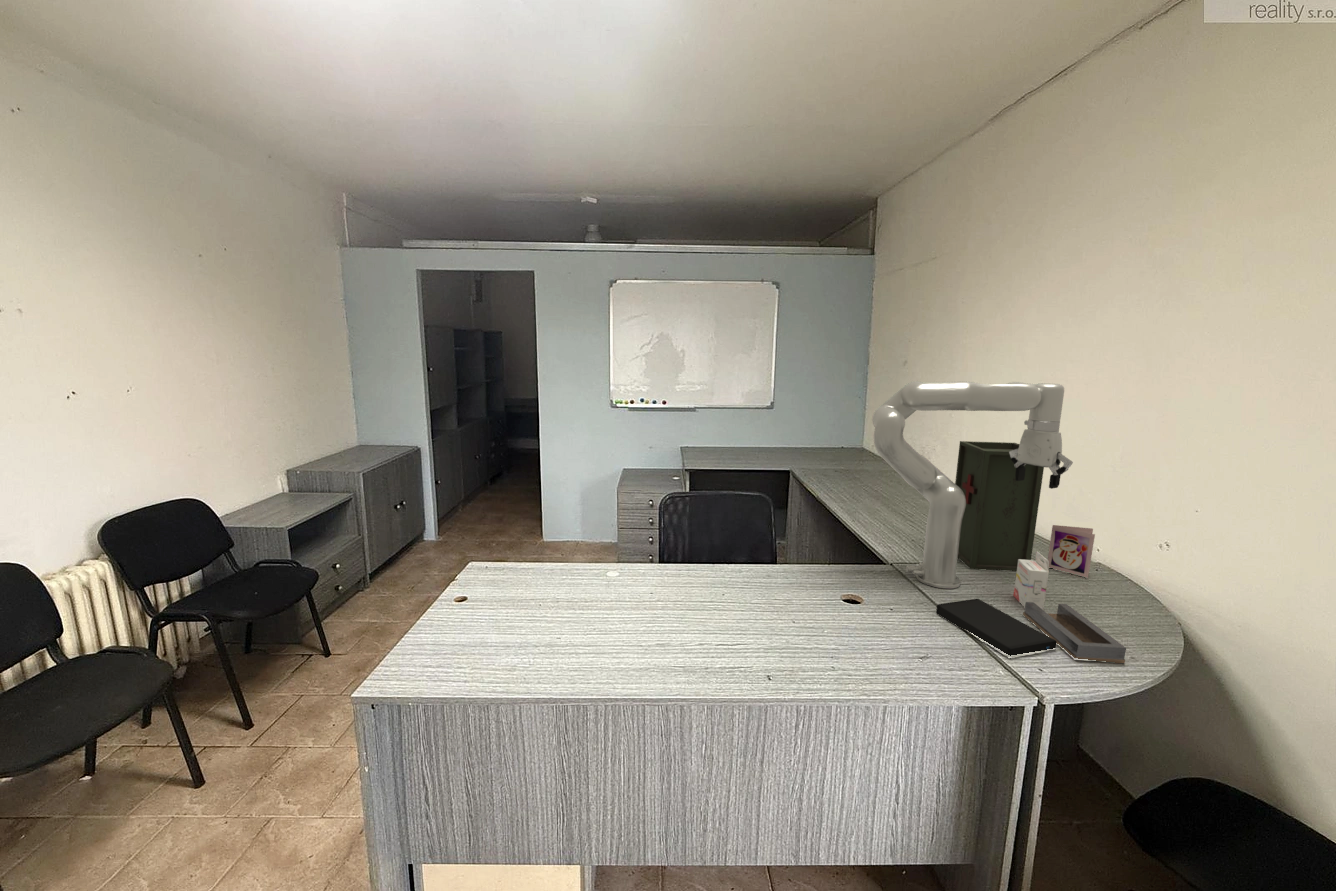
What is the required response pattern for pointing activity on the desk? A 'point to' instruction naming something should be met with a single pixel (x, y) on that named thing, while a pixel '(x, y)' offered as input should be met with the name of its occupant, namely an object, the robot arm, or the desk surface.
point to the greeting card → (1071, 549)
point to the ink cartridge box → (1031, 580)
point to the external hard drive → (995, 627)
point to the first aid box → (996, 506)
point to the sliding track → (1076, 634)
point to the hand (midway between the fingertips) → (1036, 484)
